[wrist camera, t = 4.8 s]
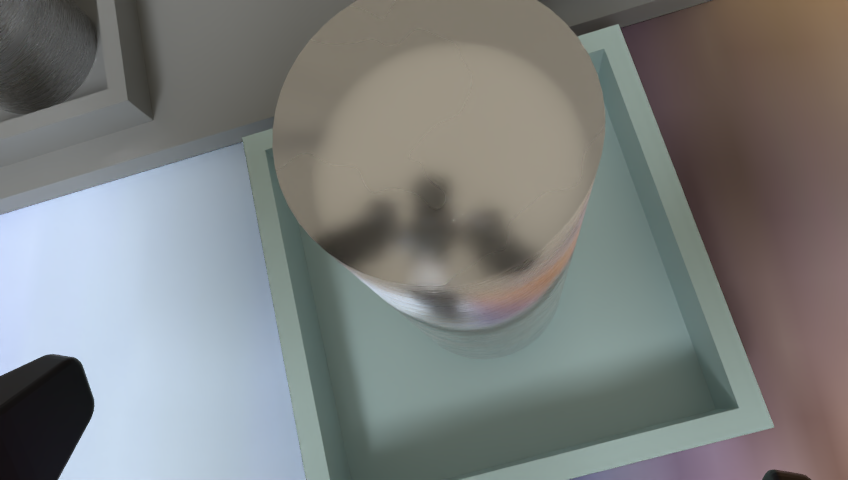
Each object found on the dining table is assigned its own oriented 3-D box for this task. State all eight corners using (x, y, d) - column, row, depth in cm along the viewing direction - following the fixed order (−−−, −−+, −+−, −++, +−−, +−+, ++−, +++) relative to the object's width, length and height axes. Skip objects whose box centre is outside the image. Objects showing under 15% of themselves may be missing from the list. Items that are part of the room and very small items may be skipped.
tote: (346, 525, 19) (318, 542, 16) (276, 171, 22) (242, 137, 20) (738, 426, 18) (774, 427, 16) (606, 73, 22) (618, 23, 19)
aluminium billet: (427, 377, 19) (306, 327, 9) (391, 230, 20) (247, 30, 10) (582, 335, 19) (654, 230, 8) (535, 189, 20) (546, -64, 10)
